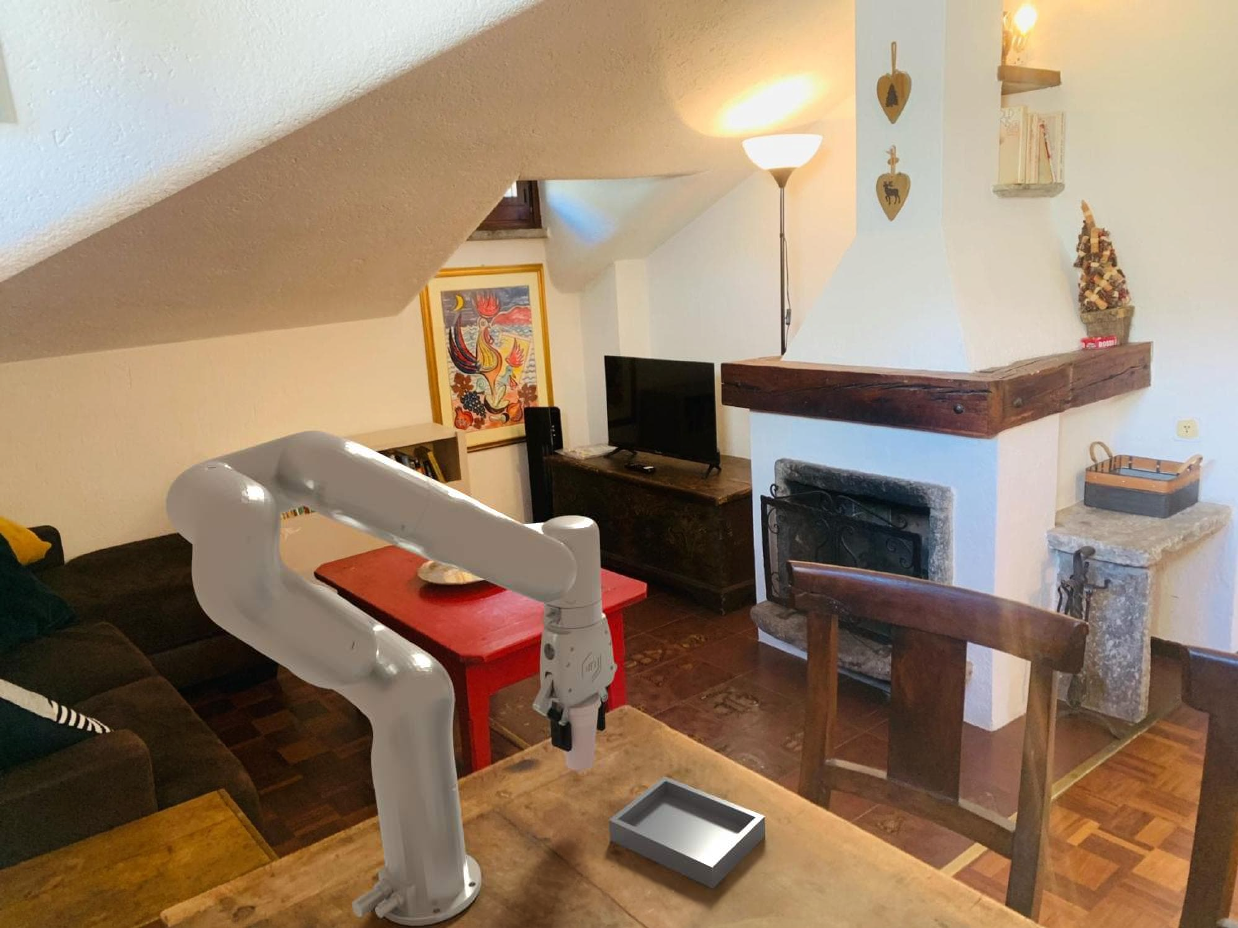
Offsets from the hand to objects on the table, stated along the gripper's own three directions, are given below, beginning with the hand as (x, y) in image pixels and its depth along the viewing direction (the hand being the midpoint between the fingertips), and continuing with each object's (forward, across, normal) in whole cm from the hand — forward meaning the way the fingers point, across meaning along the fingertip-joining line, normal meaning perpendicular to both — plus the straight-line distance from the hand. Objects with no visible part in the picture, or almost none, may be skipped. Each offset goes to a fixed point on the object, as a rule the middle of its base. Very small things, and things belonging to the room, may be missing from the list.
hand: (578, 736), depth 125 cm
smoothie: (+4, 0, 0) cm, 4 cm away
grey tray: (+11, +3, -15) cm, 19 cm away
